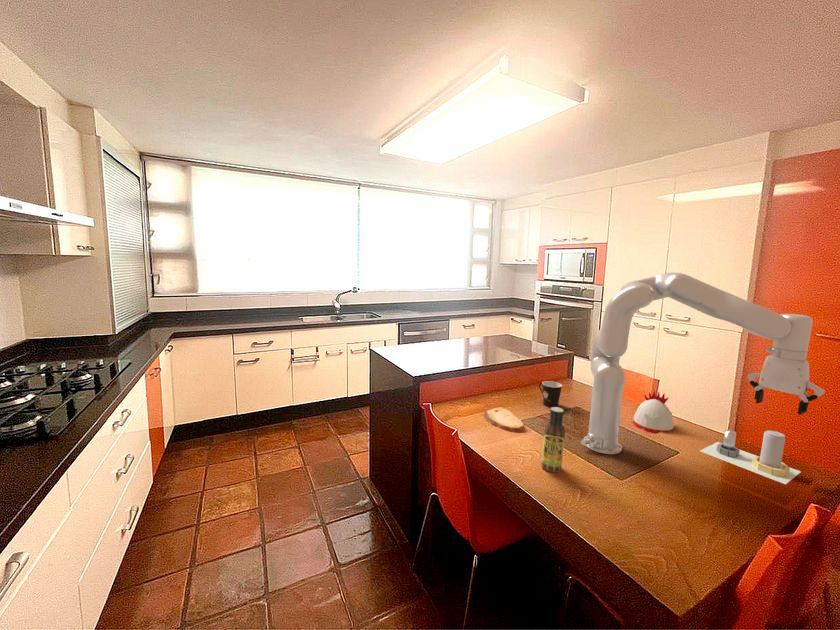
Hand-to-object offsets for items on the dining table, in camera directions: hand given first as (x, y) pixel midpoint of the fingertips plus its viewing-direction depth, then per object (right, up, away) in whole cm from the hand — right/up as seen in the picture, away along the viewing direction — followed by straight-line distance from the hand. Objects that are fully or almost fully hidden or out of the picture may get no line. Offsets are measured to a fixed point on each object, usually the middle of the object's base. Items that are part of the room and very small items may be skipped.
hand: (779, 407), depth 113 cm
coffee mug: (-51, -13, +58) cm, 78 cm away
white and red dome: (-17, -17, +35) cm, 43 cm away
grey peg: (-6, -19, +12) cm, 23 cm away
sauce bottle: (-70, -20, +3) cm, 73 cm away
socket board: (-3, -21, +8) cm, 22 cm away
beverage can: (0, -20, +3) cm, 21 cm away
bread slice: (-77, -16, +38) cm, 87 cm away
